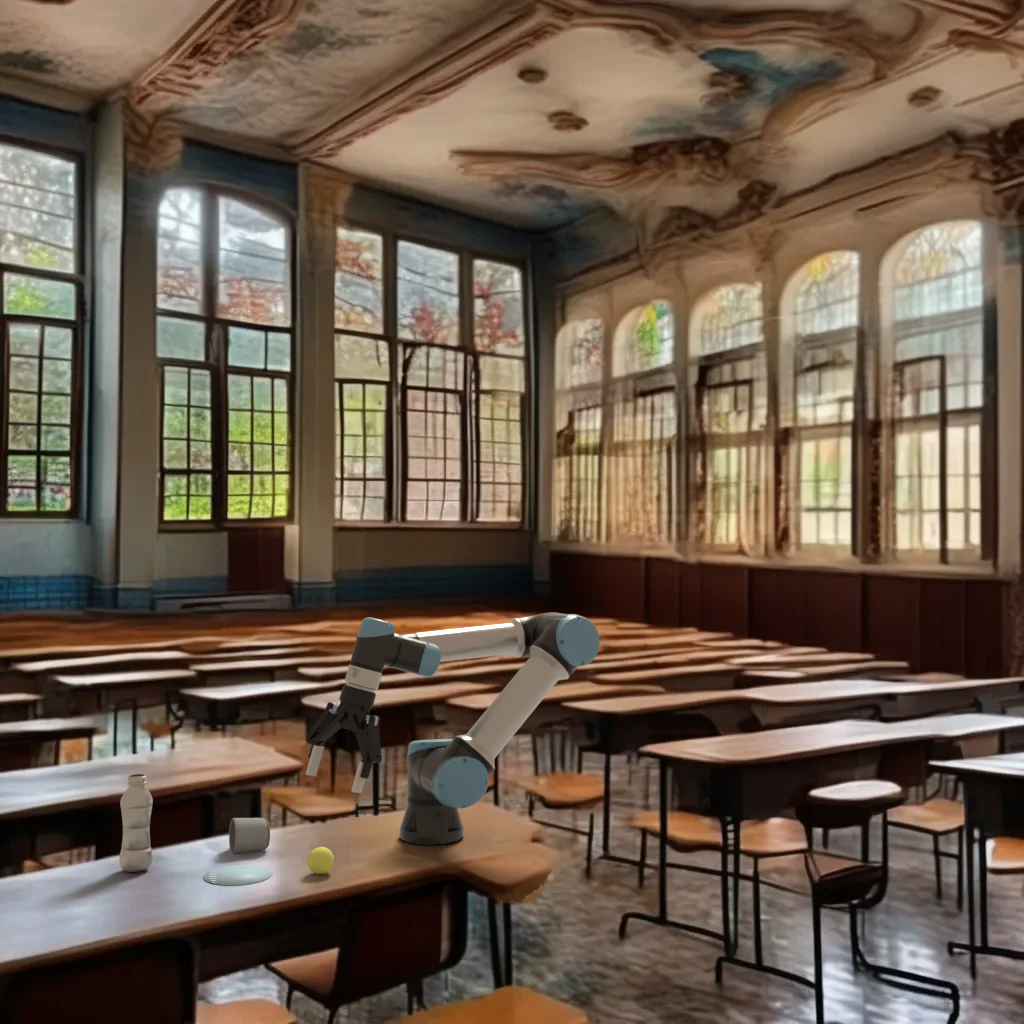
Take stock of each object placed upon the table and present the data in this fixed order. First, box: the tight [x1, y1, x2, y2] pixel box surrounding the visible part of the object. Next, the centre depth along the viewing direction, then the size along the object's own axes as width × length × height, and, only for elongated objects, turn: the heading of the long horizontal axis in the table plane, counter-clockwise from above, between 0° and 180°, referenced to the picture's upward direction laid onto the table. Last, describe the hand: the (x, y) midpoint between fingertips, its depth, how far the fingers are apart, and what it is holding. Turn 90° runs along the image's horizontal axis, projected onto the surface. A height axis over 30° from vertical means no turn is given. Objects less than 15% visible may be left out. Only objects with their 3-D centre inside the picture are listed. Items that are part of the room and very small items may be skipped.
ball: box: [307, 846, 335, 875], centre depth 233 cm, size 6×6×6 cm
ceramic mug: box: [228, 817, 271, 855], centre depth 252 cm, size 11×8×8 cm
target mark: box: [203, 864, 274, 887], centre depth 232 cm, size 14×14×1 cm
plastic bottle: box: [119, 773, 154, 873], centre depth 235 cm, size 6×7×20 cm
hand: (333, 783), depth 240 cm, fingers open, 13 cm apart
